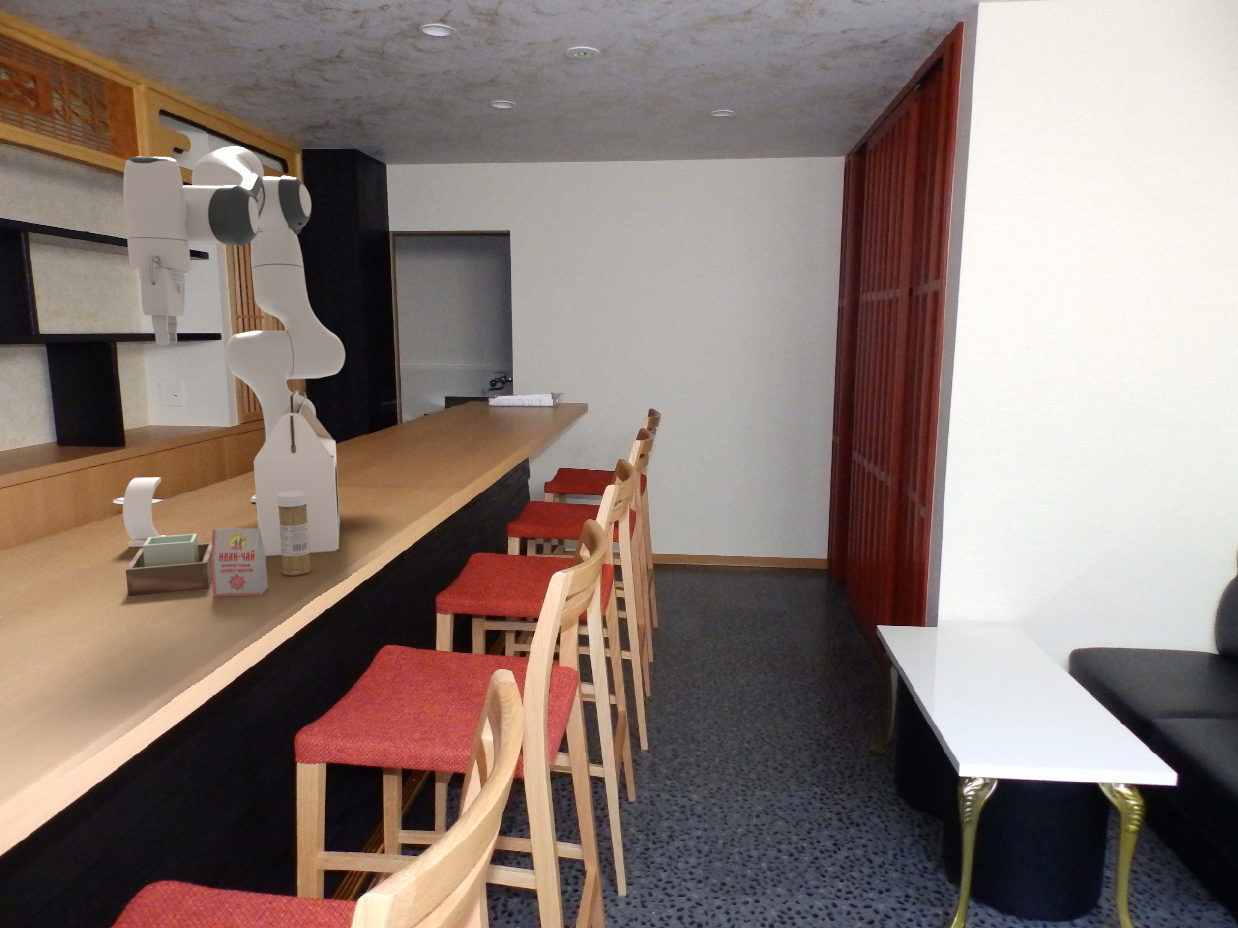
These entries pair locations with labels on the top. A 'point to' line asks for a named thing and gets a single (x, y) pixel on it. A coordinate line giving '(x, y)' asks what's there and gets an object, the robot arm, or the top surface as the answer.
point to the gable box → (298, 478)
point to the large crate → (169, 574)
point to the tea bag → (238, 562)
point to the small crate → (171, 550)
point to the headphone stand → (139, 510)
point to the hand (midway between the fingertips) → (167, 344)
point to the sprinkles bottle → (294, 532)
